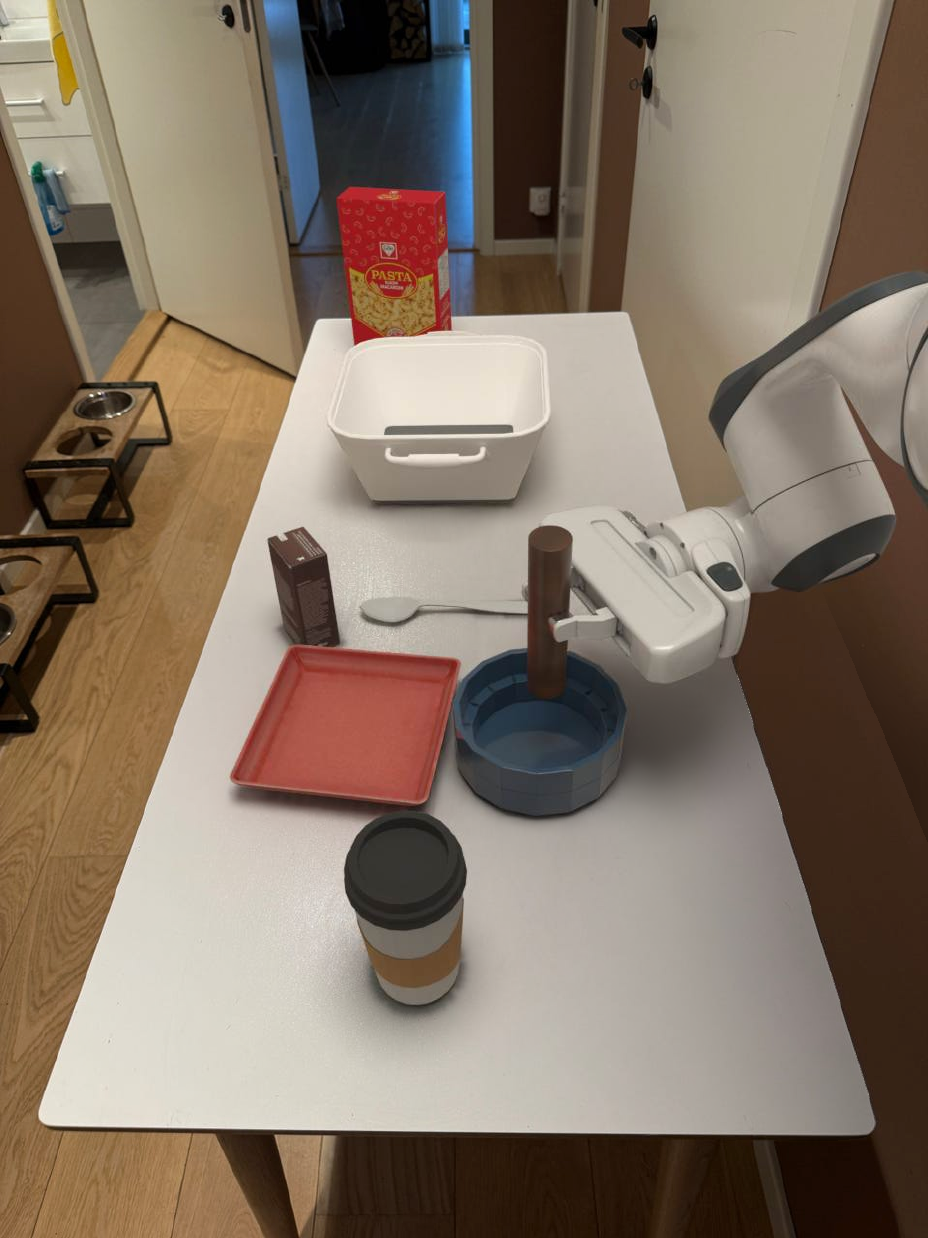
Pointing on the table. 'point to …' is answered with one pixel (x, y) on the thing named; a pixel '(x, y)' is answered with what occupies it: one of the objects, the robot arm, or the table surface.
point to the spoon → (406, 606)
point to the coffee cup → (409, 902)
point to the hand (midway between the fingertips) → (538, 612)
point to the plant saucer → (350, 725)
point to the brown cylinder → (547, 608)
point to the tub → (441, 415)
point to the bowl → (538, 735)
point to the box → (304, 588)
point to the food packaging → (395, 261)
